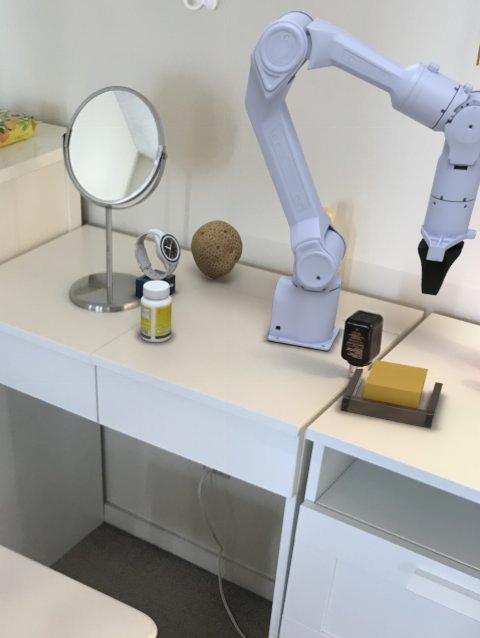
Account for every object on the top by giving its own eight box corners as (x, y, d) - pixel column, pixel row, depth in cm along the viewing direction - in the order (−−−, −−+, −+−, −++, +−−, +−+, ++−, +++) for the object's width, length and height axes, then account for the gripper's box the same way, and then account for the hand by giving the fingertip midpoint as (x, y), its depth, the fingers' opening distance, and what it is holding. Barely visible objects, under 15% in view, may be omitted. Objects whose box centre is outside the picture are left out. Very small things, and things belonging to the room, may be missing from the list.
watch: (164, 305, 137) (166, 241, 130) (127, 293, 141) (127, 230, 134) (184, 295, 140) (187, 231, 133) (147, 283, 144) (148, 221, 138)
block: (359, 408, 110) (365, 382, 107) (369, 385, 115) (375, 359, 112) (414, 419, 107) (420, 393, 105) (421, 394, 112) (428, 368, 110)
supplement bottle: (173, 331, 129) (175, 280, 124) (167, 344, 126) (169, 292, 121) (144, 328, 130) (144, 277, 125) (137, 341, 127) (137, 290, 122)
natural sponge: (208, 263, 151) (212, 209, 145) (249, 275, 146) (255, 219, 140) (179, 279, 146) (182, 223, 140) (221, 291, 141) (226, 234, 135)
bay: (340, 410, 109) (342, 397, 108) (354, 379, 116) (356, 367, 115) (430, 428, 105) (434, 415, 104) (439, 396, 112) (443, 383, 111)
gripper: (479, 216, 101) (452, 317, 110) (490, 183, 112) (465, 278, 120) (420, 209, 104) (398, 309, 112) (436, 177, 114) (415, 271, 123)
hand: (429, 292), depth 116 cm, fingers closed
